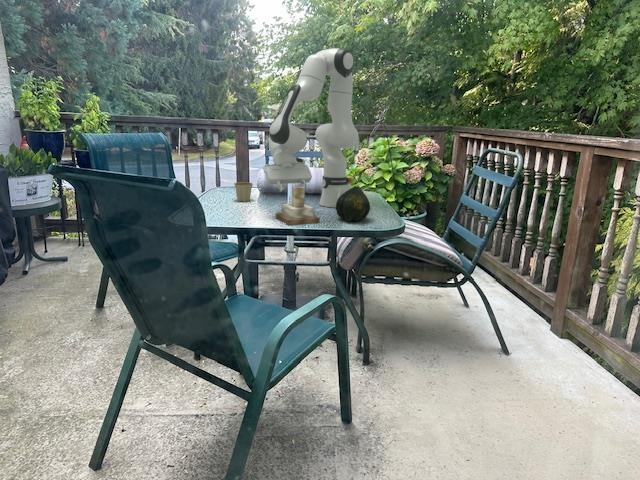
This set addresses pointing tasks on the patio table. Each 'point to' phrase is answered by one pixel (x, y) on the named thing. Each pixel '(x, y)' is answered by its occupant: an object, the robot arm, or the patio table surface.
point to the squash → (353, 205)
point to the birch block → (298, 196)
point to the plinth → (297, 221)
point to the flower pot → (243, 191)
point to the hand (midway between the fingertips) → (293, 190)
